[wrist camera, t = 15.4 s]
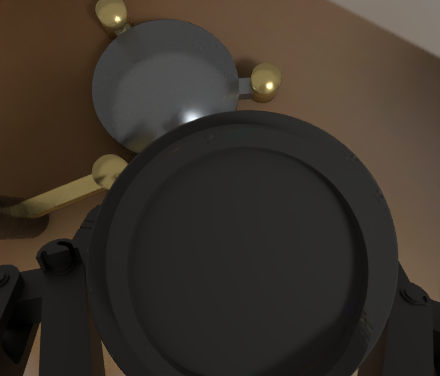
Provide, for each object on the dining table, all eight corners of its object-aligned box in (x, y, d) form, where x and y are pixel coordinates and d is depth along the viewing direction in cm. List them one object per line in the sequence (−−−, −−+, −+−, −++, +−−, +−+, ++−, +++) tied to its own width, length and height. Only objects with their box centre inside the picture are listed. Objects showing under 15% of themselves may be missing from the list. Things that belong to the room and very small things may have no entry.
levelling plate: (282, 77, 25) (289, 63, 23) (228, 197, 24) (229, 194, 22) (116, 5, 26) (107, -15, 24) (52, 117, 25) (36, 106, 22)
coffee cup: (144, 218, 22) (-19, 194, 7) (247, 156, 22) (303, 11, 7) (206, 327, 21) (176, 584, 6) (313, 259, 21) (531, 330, 6)
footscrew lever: (133, 158, 24) (78, 110, 14) (146, 191, 24) (99, 165, 14) (7, 209, 23) (-142, 194, 14) (18, 244, 23) (-126, 255, 13)
